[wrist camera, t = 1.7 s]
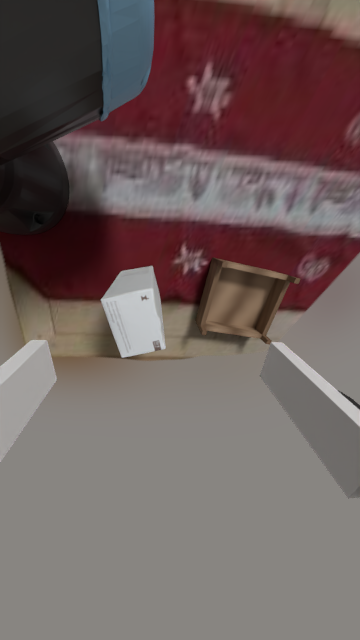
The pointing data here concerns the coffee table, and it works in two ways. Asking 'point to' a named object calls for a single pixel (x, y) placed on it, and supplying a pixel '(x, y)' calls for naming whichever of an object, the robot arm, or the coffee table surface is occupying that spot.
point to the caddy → (241, 299)
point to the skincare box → (135, 312)
